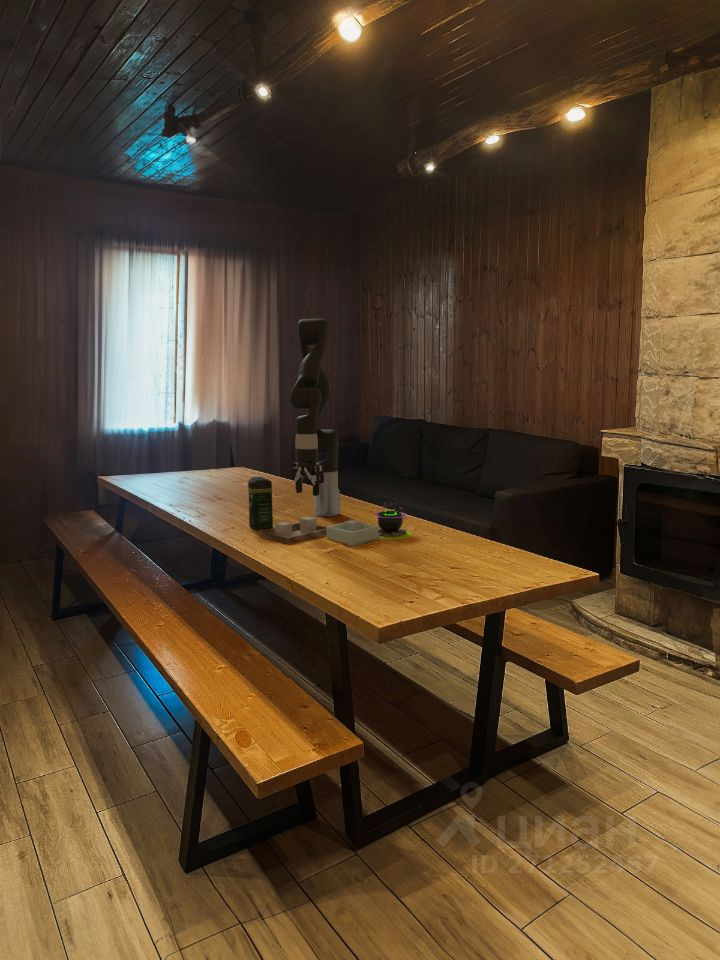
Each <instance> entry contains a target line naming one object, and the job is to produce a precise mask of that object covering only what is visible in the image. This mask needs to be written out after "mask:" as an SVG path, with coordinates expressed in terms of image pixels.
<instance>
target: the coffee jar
mask: <svg viewBox="0 0 720 960" xmlns="http://www.w3.org/2000/svg"><path fill="white" fill-rule="evenodd" d="M247 481H248V482H247V484H248V485H247V487H248V488H247V489H248V526H249V527H250V529H252V530H255V531H263V530H267V529H272V528H274V520H273V518H274V517H273V483H272V481H271V480H270V479H268V478H266V477H263V476H252V477H250V478H249V480H247Z"/></svg>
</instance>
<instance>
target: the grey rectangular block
mask: <svg viewBox="0 0 720 960" xmlns="http://www.w3.org/2000/svg"><path fill="white" fill-rule="evenodd" d="M299 523H300V533H304V534H305V533H309V532H313V531H316V525H317V517H313V516H303V517H301V518H299Z"/></svg>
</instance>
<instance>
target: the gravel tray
mask: <svg viewBox="0 0 720 960" xmlns="http://www.w3.org/2000/svg"><path fill="white" fill-rule="evenodd" d="M324 536H327V526H325V525H320V524H316V531H313V532H309V533H305V534H304V533H300V522H297V523H292V537H285V536H281V535H277V534H275V527H273V528H271V529H266V530H259V537H260V538H263V539H267V540H270V541H274V542H279V543H283V544H286V545H290V544H295V543H299V542H303V541H307V540H312V539H315V538H320V537H324Z"/></svg>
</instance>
